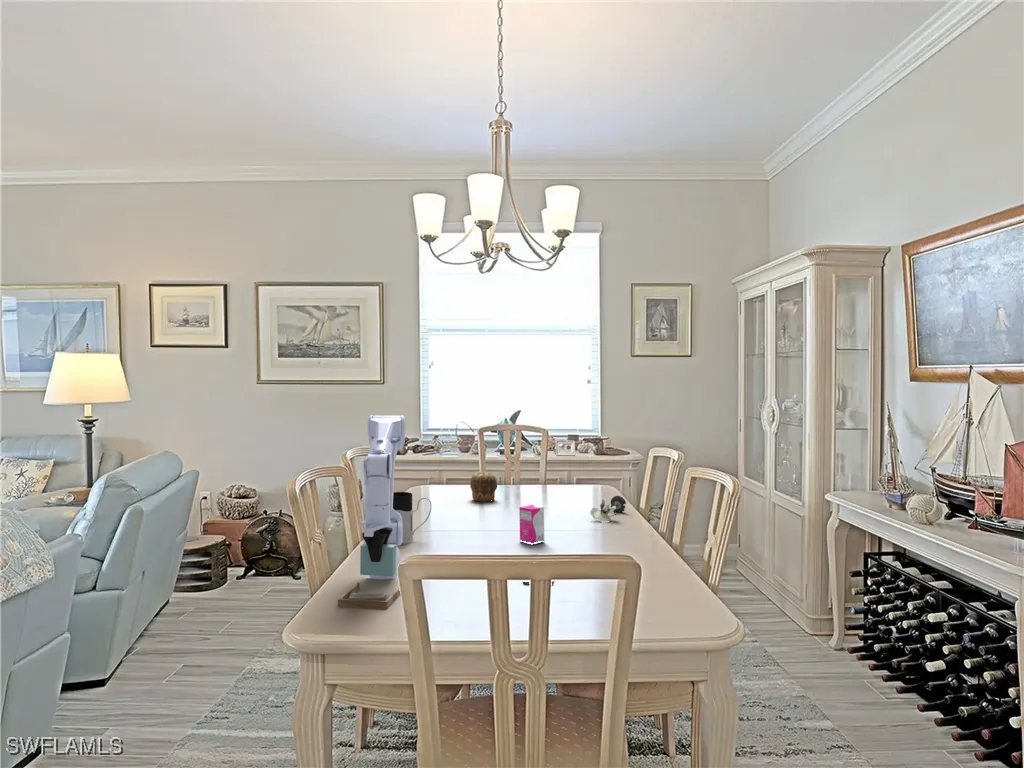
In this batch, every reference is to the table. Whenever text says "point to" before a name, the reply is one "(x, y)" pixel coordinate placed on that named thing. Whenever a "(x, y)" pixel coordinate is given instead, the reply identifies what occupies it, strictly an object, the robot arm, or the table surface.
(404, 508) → the glass holder
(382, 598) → the grey offcut
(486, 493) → the brown muffin
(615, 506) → the artificial flower
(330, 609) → the table surface
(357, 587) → the brown shallow rectangular tray
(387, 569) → the teal board
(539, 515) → the supplement box
